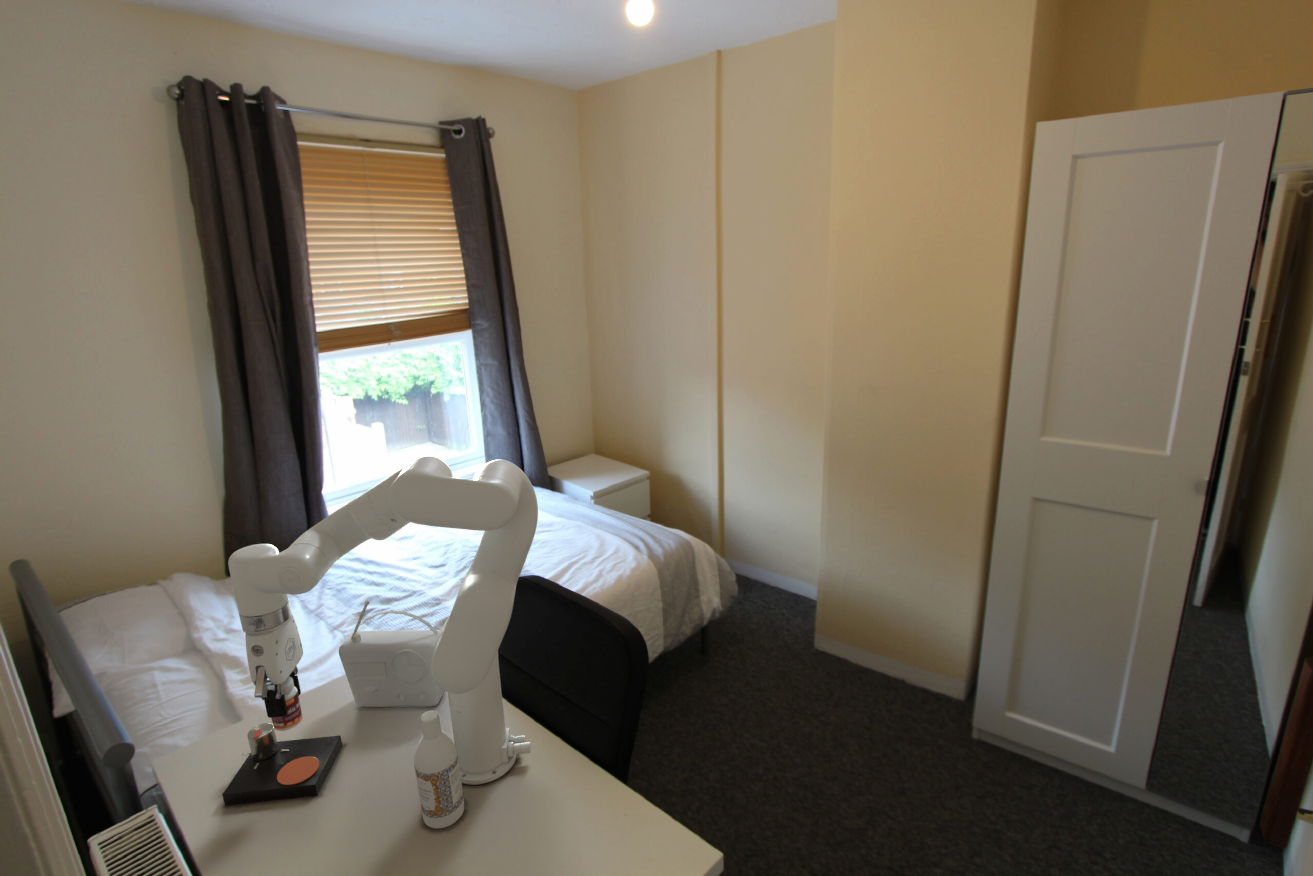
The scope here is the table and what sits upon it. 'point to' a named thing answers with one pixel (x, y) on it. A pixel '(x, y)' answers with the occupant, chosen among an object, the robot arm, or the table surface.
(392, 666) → the radio
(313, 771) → the burner ring
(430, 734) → the bath foam
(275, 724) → the pill bottle
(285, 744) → the hob
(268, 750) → the hob knob
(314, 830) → the table surface
